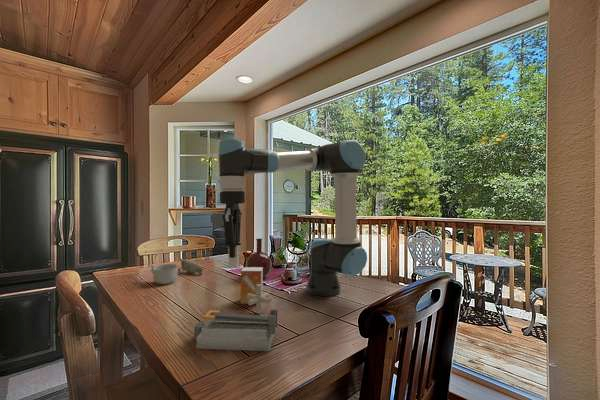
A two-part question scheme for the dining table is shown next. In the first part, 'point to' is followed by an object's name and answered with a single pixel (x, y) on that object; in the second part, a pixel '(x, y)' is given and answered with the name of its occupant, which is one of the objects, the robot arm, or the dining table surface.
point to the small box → (250, 282)
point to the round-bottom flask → (260, 259)
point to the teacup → (164, 273)
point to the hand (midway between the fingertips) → (233, 267)
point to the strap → (234, 316)
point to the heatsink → (236, 334)
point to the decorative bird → (190, 266)
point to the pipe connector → (258, 298)
